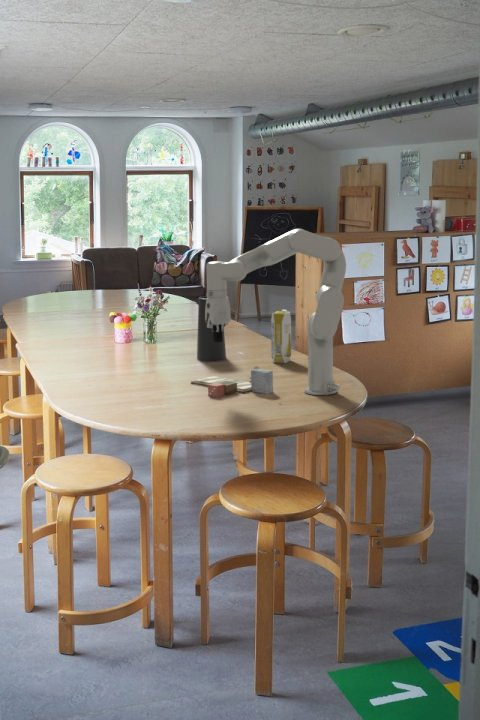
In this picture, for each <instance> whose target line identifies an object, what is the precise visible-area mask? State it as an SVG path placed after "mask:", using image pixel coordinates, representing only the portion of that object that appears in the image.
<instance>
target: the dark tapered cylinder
mask: <svg viewBox="0 0 480 720" xmlns="http://www.w3.org/2000/svg"><path fill="white" fill-rule="evenodd" d="M206 299H207V295H204V296H200V297H198V304H197V305H198V307H197V310H198V312H197V313H198V314H197V344H196V346H197V348H196V349H197V350H196V360H198V361H202V362H218V361H224V360H226V359H227V352H226V351H227V350H226V339H225V338H226V337H225V329H224V330H223V331H222V342H214V335H213V331H212V329H211V328H207V323H206V321H205V307H206Z"/></svg>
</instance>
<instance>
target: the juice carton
mask: <svg viewBox="0 0 480 720" xmlns="http://www.w3.org/2000/svg"><path fill="white" fill-rule="evenodd" d="M270 327H271V328H270V329H271V330H270V335H271V336H270V337H271V338H270V341H271V344H270V347H271V348H270V349H271V359H272V363H274V364H287V363H288V362H289V361H291V358H292V317H291V312H290V311H288V310H287V309H281V310H277V311H275V312H273V313H272V314H271V321H270Z"/></svg>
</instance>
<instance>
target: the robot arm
mask: <svg viewBox="0 0 480 720" xmlns="http://www.w3.org/2000/svg"><path fill="white" fill-rule="evenodd" d="M297 253H298V254H299V253H300V254H301V255H305V256H308V257H312V258H314V259H319V260H322V262H323V270H322V274H321V279H320V282H319V285H318V289H317V292H316V295H315V300H316V303H317V306H316V309H315V312H313V313H312V314H311V315H310V316H309V317H308V320H307V325H306V326H307V329H306V330H307V340H308V342H307V344H308V345H307V348H308V349H307V350H308V352H307V353H308V354H307V358H308V360H307V367H308V368H307V369H308V370H307V371H308V372H307V381H308V382H307V385H308V386H306V387H304V393H305V394H308V395H312V396H329V395H333V394H336V393H337V392H338V391H340V389H341V385H340V384H336V381H335V380H333V379H334V376H333V375H334V373H333V372H334V370H333V369H334V368H333V367H334V358H333V357H334V347H333V346H334V339H333V337H334V336H335V334H336V332H337V330H338V326H339V322H340V319H341V315H342V312H343V308H344V305H345V298H344V295H343V292H342V288H343V285H344V282H345V281H344V279H345V277H346V276H345V275H346V271H347V260H346V257H345V253H344V252H343V250H342V248H341V245H340V243H339V242H338V240H336V239H334V238H333V237H329V236H323V235H319V234H317V233H313V232H310V231H308V230H305V229H303V228H293V229H292V230H290V231H288V232H285V233H284V234H281V235H280V236H278V237H275V238H274V239H272V240H269V241H267V242H265V243H264V244H261V245H259V246H258V247H255V248H254V249H251V250H249V251H247V252H245V253H243V254H240V255H239V256H236V257H235V258H233V259H231V260H230V261H228V262H225V261H221V260H220V261H219V260H216V261H209V262H207V263H206V266H205V269H206V270H205V271H206V295H205V296H207V299H206V307H205V321H206V323H207V328H211V329H212V331H213V335H214V342H222V331H223V330H224V331H225V327H226V326H228V325H229V323H230V322H231V321H232V315H231V314H232V312H231V304H230V299H229V297H228V290H227V289H228V287H227V285H228V284H227V281H231V282H233V281H234V282H240V281H242V280H244V279H245V278H246V277H247V274H249V273H252V272H253V271H256V270H258V269H260V268H263V267H269V266H273V265H275V264H278V263H279V262H281V261H283V260H286V259H288V258H289V257H291V256H295V254H297Z"/></svg>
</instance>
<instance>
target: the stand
mask: <svg viewBox="0 0 480 720" xmlns="http://www.w3.org/2000/svg"><path fill="white" fill-rule="evenodd" d="M219 383H221V384H225V395H224V396H230V395H234V394H237V393H238V392H237V383H235V382H230V381H223V382H219Z"/></svg>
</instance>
